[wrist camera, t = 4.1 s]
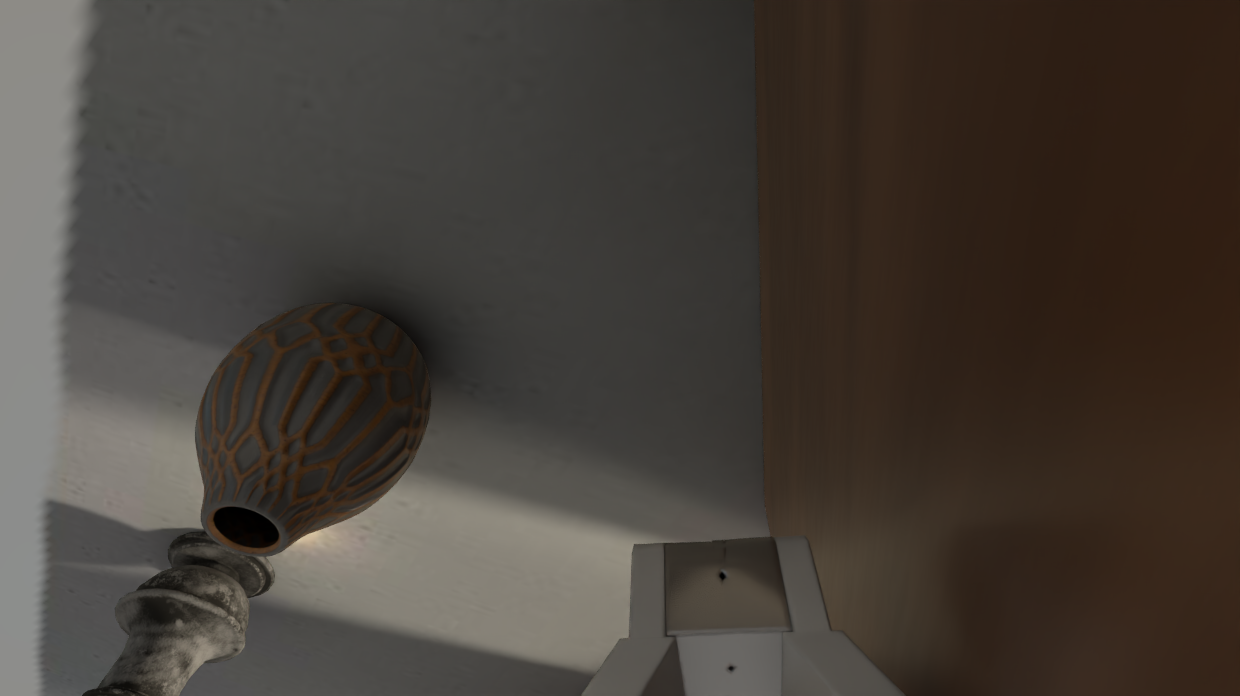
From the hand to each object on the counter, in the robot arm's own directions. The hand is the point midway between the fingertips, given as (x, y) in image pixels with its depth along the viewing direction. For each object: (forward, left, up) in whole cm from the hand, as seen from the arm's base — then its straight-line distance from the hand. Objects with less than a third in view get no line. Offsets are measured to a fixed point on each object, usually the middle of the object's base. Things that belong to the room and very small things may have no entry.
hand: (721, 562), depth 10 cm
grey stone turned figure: (0, -30, -14) cm, 33 cm away
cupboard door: (+1, 0, -13) cm, 13 cm away
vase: (-4, -13, -14) cm, 19 cm away
